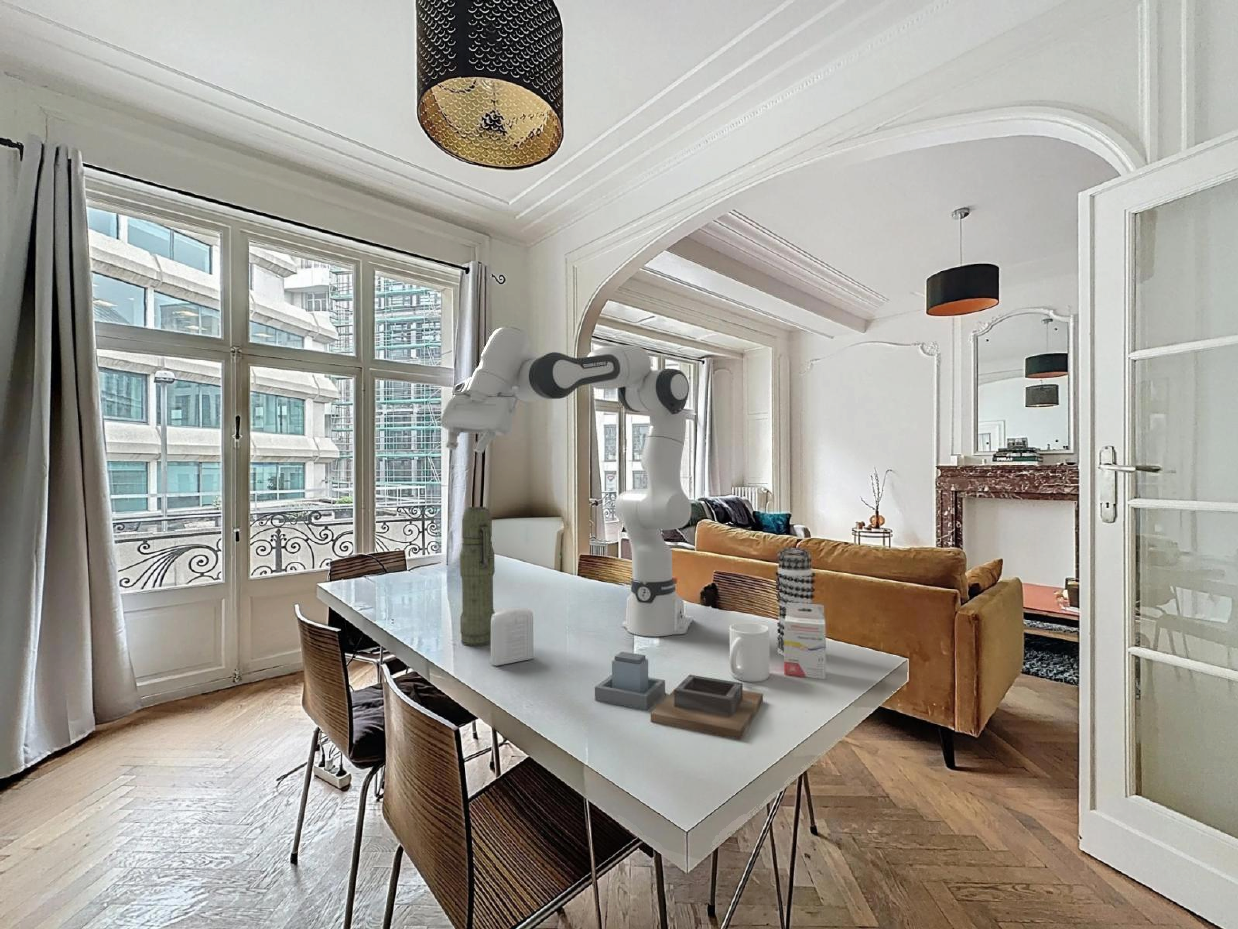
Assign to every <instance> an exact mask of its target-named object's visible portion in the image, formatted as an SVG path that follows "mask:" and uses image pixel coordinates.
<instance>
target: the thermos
mask: <svg viewBox="0 0 1238 929" xmlns="http://www.w3.org/2000/svg"><path fill="white" fill-rule="evenodd" d="M492 523H493V518H492V514H491V512H490V509H489V508H487V507H486V506H470V507H469V506H468V507H467V508H465V509H464V512H463V515H462V518H461V536H462V547H461V550H460V554H459V574H460V577H461V588H462V589H461V593H462V594H461V596H462V597H461V598H462V599H461V601H462V602H461V603H462V606H461V608H462V610H461V611H462V612H461V614H460V618H459V619H460V620H459V622H460V630H459V632H460V636H461V640H460V642H461V644H462V643H463V644H462V645H464V644H465V646H468V645H470V646H471V647H473V646H474V647H477V645H479V646H484V644H486V645H488V644H487V643H489V644H491V617H492V615H493V614H495V613H496V612H495V610H494V575H495V568H496V566H495V564H496V563H495V551H494V547H493V541H492V537H493V527H492V525H493V524H492ZM472 645H473V646H472ZM470 646H469V647H470Z"/></svg>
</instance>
